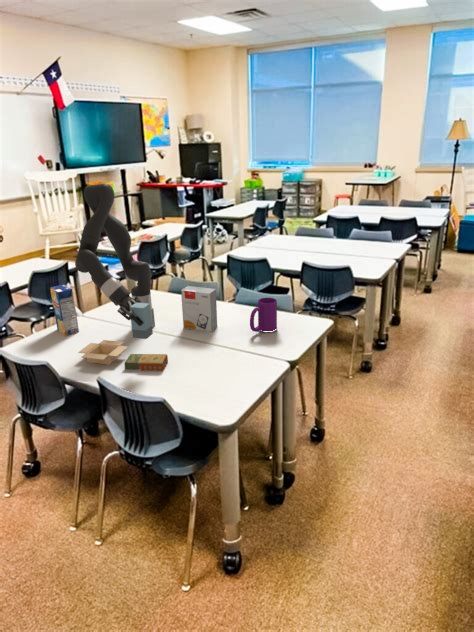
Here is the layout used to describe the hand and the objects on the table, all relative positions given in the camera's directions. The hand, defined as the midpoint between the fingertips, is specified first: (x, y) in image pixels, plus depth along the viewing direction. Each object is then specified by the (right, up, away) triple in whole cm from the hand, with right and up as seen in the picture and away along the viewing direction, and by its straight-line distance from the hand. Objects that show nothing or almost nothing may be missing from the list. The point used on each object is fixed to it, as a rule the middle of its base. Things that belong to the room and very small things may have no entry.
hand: (145, 321), depth 187 cm
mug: (+49, -5, +39) cm, 62 cm away
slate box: (-2, -6, +3) cm, 7 cm away
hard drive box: (+18, -4, +46) cm, 49 cm away
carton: (-1, -19, +8) cm, 21 cm away
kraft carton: (-20, -16, +15) cm, 30 cm away
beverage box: (-47, -5, +47) cm, 67 cm away
